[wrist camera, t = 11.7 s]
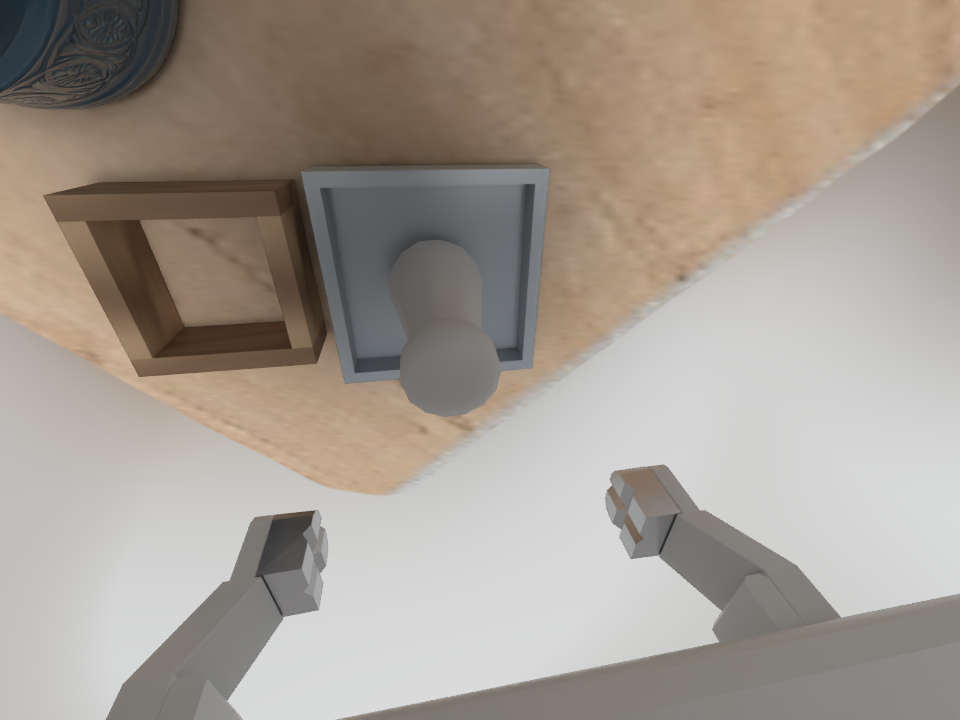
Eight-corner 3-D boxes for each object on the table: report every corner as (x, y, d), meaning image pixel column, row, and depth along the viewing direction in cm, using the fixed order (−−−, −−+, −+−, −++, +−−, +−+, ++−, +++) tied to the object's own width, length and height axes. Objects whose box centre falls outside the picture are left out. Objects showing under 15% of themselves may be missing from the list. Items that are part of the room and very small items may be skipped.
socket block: (98, 182, 22) (43, 195, 19) (293, 179, 23) (274, 191, 20) (171, 344, 27) (139, 377, 24) (326, 334, 29) (316, 363, 25)
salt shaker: (392, 223, 25) (383, 313, 14) (482, 235, 26) (537, 326, 15) (387, 309, 28) (377, 438, 17) (468, 316, 29) (506, 440, 18)
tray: (310, 166, 23) (300, 171, 21) (537, 163, 25) (549, 168, 23) (349, 365, 30) (344, 383, 28) (524, 351, 32) (532, 368, 30)
